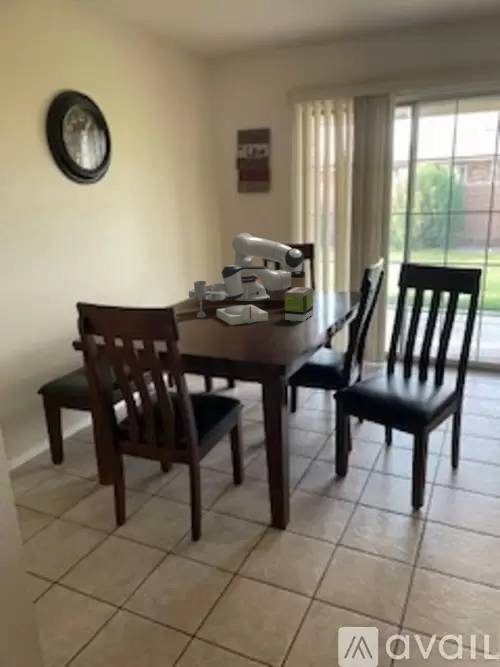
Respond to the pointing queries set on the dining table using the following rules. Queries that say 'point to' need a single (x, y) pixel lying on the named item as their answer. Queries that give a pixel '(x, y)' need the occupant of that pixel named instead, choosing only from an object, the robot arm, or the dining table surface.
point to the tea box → (298, 304)
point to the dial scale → (242, 314)
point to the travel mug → (297, 279)
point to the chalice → (200, 294)
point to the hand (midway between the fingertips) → (199, 297)
